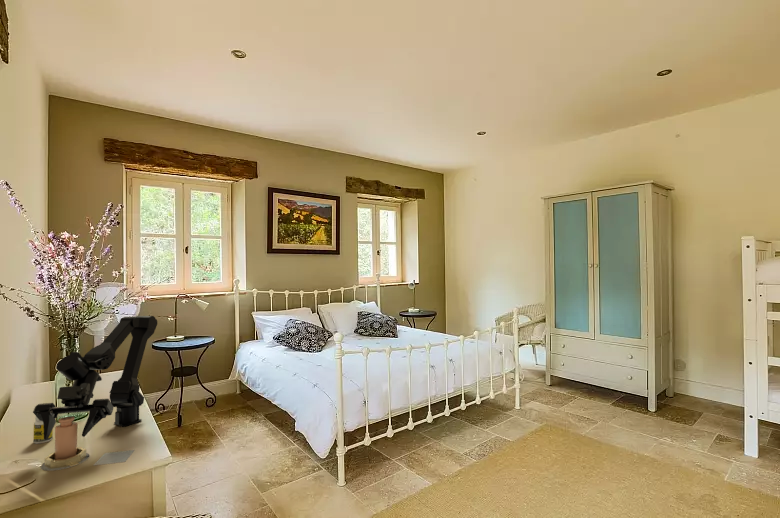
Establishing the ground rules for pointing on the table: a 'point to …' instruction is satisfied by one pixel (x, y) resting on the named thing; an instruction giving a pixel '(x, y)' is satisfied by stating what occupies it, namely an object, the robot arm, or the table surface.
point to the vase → (66, 438)
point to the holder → (65, 460)
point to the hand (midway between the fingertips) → (64, 437)
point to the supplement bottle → (40, 432)
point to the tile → (114, 457)
